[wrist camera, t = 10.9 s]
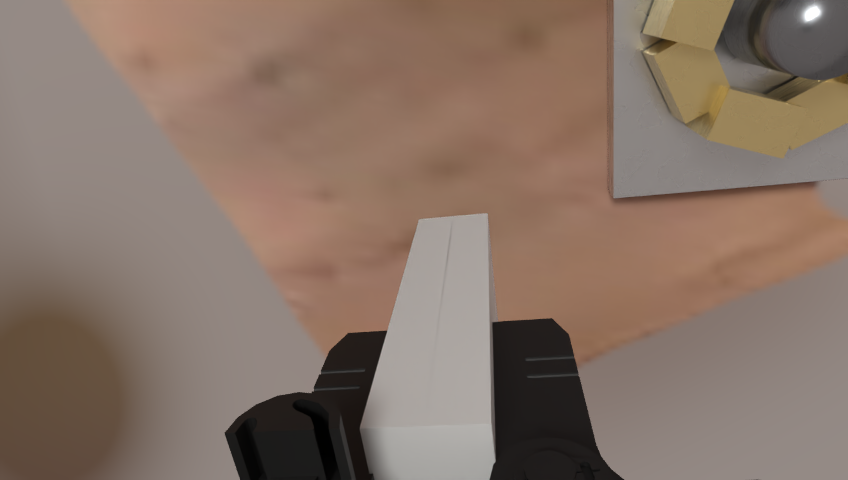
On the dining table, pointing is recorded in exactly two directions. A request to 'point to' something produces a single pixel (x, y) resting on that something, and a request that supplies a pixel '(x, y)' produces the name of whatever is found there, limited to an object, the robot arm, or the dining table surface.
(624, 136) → the cap plate
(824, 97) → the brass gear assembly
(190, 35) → the dining table surface
